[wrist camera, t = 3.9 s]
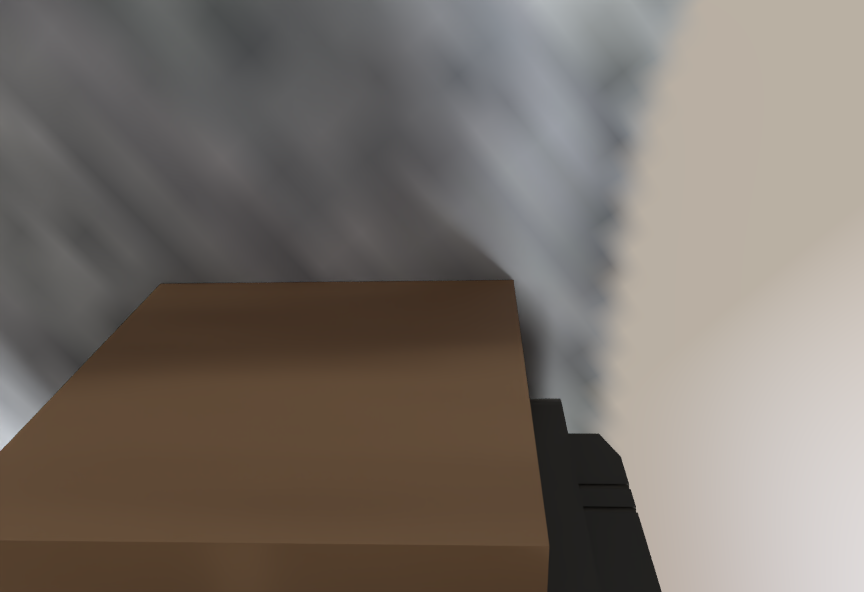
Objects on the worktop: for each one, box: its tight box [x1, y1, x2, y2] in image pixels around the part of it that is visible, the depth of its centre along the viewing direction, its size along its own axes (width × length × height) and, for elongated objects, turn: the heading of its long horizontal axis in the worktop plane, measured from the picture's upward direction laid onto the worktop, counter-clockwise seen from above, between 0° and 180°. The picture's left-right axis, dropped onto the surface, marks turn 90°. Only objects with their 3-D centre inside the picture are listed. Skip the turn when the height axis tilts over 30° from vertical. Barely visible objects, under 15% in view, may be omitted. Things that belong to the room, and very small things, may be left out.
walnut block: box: [0, 280, 549, 592], centre depth 9 cm, size 5×5×5 cm
